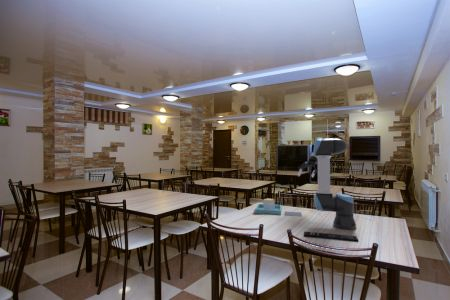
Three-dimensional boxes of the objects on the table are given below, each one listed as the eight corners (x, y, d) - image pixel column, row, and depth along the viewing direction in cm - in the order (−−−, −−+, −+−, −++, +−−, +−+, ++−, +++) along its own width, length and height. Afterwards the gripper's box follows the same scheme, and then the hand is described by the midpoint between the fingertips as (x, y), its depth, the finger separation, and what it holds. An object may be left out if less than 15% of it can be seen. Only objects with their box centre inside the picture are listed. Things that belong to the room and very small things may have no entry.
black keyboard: (303, 233, 172) (303, 230, 172) (355, 238, 162) (355, 235, 162) (303, 237, 165) (303, 234, 165) (358, 242, 155) (358, 239, 155)
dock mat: (301, 217, 210) (301, 216, 210) (284, 216, 213) (284, 215, 213) (301, 213, 223) (301, 212, 223) (284, 212, 227) (284, 211, 227)
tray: (281, 215, 216) (281, 210, 216) (255, 213, 221) (255, 209, 221) (281, 209, 237) (281, 205, 237) (258, 208, 242) (258, 203, 242)
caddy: (268, 209, 234) (268, 198, 234) (274, 210, 229) (274, 199, 229) (263, 210, 229) (263, 199, 229) (269, 211, 224) (269, 200, 224)
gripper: (328, 161, 226) (319, 179, 216) (303, 160, 245) (294, 177, 235) (325, 155, 222) (316, 174, 213) (300, 155, 241) (291, 172, 232)
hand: (305, 175), depth 224 cm, fingers open, 13 cm apart
